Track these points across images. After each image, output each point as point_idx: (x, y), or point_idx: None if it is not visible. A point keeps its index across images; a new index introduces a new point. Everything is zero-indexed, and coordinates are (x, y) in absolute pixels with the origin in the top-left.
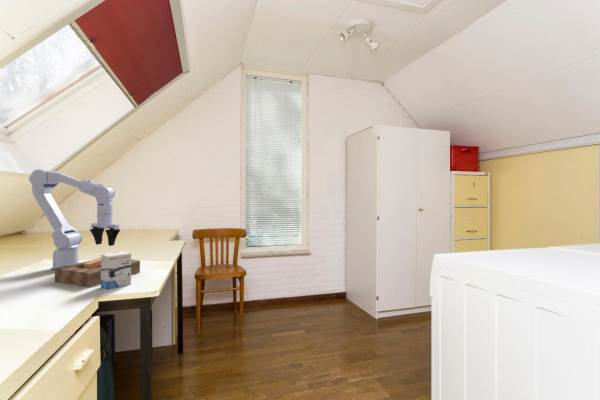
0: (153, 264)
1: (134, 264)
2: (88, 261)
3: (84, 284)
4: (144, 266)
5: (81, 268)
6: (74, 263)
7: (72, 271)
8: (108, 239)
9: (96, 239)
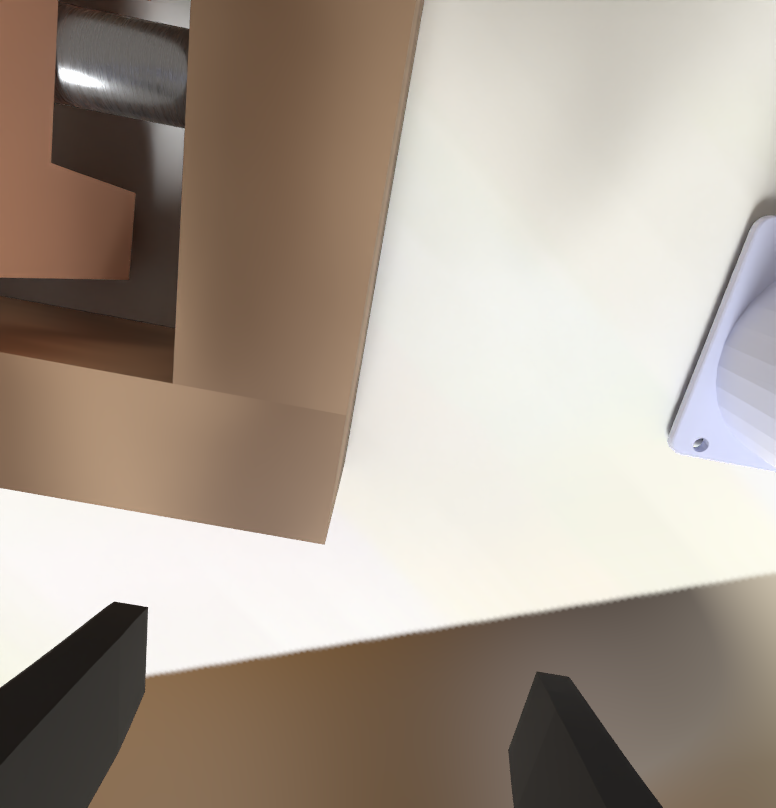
0: (21, 671)
1: None
2: (354, 181)
3: None
4: (34, 593)
5: None
6: (758, 364)
7: None
8: (2, 724)
9: (587, 796)
